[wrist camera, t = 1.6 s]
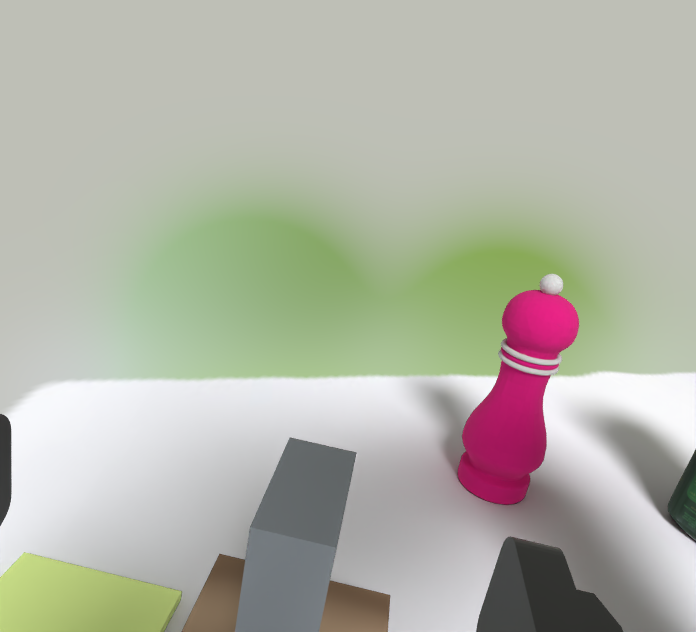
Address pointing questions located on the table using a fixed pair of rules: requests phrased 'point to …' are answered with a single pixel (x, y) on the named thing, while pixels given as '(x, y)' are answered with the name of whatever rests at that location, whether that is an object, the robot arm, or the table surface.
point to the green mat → (79, 599)
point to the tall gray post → (295, 540)
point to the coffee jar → (685, 500)
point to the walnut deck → (338, 615)
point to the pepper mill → (518, 396)
